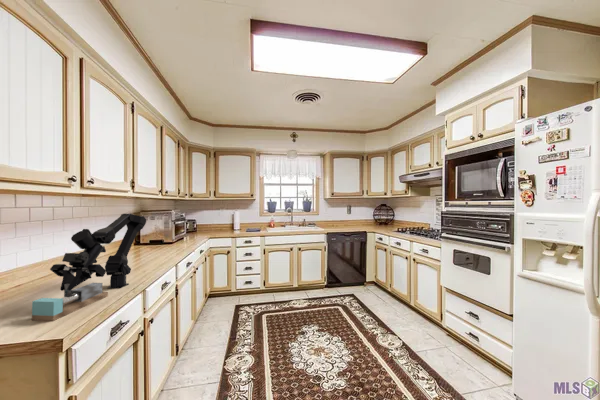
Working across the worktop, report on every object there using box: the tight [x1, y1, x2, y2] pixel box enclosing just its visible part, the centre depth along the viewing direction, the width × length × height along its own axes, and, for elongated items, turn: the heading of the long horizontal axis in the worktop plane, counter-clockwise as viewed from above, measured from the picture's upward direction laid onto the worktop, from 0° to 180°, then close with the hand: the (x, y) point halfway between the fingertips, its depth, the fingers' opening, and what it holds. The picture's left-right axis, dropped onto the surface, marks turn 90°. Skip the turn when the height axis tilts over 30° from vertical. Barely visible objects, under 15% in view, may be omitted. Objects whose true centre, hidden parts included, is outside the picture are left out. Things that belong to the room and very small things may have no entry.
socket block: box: [31, 297, 63, 316], centre depth 89 cm, size 3×8×5 cm, turn 87°
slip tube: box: [62, 283, 81, 305], centre depth 100 cm, size 13×3×8 cm, turn 178°
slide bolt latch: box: [31, 282, 109, 322], centre depth 99 cm, size 24×8×6 cm, turn 178°
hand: (64, 290), depth 95 cm, fingers closed on slip tube, 2 cm apart
